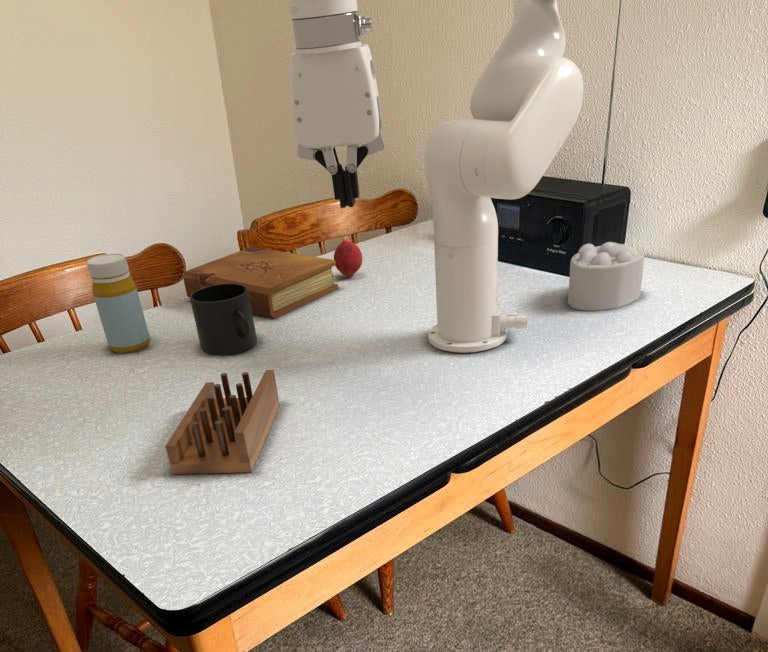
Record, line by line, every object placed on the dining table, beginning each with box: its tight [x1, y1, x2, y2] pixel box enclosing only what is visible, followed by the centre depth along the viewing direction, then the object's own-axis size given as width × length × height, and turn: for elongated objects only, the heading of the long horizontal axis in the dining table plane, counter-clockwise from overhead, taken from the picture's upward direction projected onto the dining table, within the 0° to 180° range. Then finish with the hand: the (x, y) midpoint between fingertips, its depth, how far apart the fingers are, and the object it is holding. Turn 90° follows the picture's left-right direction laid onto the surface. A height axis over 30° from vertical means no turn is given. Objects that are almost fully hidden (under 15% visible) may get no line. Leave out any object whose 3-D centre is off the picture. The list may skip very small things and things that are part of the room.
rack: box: [164, 369, 281, 475], centre depth 98 cm, size 10×18×6 cm, turn 175°
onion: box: [333, 235, 363, 278], centre depth 151 cm, size 6×6×8 cm
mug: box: [189, 283, 258, 356], centre depth 124 cm, size 9×12×9 cm
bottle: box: [86, 252, 151, 354], centre depth 126 cm, size 7×7×15 cm
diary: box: [182, 246, 339, 320], centre depth 146 cm, size 23×19×6 cm
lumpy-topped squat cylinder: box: [567, 241, 645, 312], centre depth 129 cm, size 10×13×9 cm
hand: (348, 204), depth 96 cm, fingers closed
